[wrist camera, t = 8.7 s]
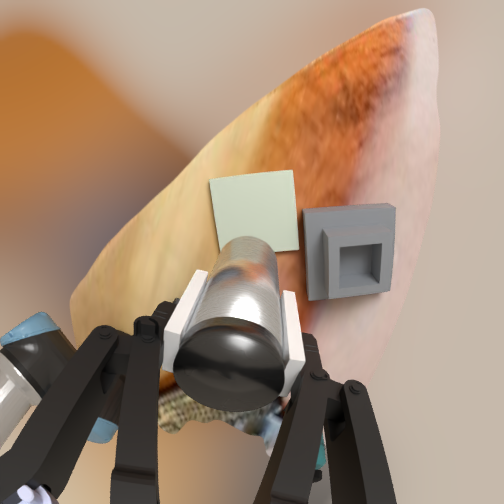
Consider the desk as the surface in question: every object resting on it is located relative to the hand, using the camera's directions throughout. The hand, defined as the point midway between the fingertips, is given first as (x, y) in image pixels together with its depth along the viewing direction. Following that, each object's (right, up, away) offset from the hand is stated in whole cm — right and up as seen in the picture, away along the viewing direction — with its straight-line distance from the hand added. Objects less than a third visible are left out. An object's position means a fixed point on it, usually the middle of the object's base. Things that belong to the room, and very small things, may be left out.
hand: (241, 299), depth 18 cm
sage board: (+1, +9, +23) cm, 25 cm away
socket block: (+16, +4, +24) cm, 29 cm away
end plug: (0, +2, +5) cm, 6 cm away
